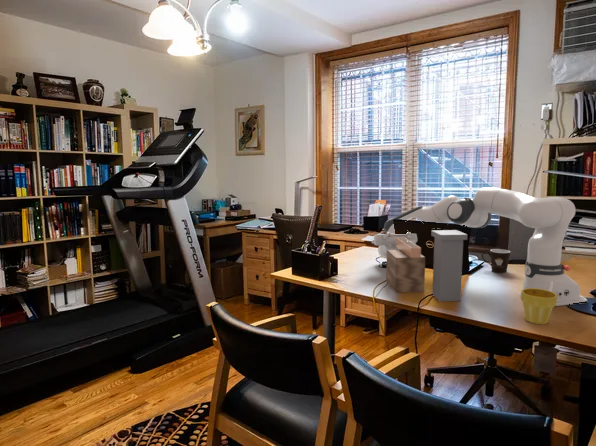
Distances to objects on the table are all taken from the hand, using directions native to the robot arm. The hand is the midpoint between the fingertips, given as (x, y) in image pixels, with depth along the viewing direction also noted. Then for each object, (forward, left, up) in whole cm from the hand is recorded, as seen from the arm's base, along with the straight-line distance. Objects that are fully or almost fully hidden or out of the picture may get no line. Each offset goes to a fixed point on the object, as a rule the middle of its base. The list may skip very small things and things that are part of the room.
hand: (399, 234), depth 192 cm
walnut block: (+2, +16, -20) cm, 26 cm away
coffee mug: (-49, -5, -20) cm, 53 cm away
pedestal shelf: (-10, +32, -20) cm, 39 cm away
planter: (0, +13, -5) cm, 14 cm away
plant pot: (-31, +57, -20) cm, 68 cm away
